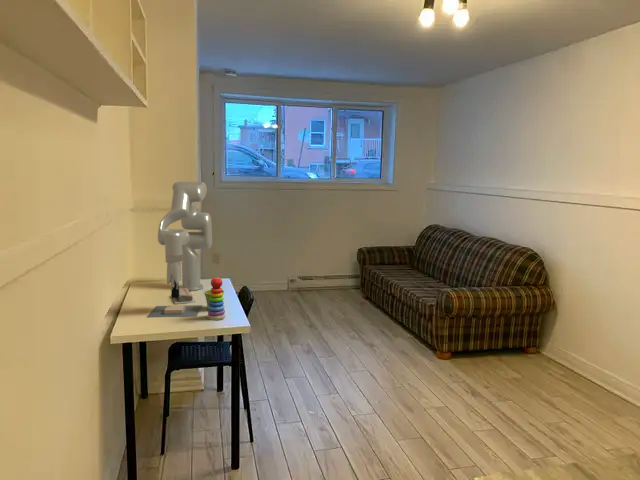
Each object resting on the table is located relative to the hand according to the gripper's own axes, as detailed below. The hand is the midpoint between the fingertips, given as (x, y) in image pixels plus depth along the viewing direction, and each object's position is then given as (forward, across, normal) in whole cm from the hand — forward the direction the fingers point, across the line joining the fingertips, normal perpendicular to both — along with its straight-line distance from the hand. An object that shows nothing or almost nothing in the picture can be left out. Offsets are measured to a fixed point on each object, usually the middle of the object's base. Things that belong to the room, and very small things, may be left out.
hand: (175, 297), depth 223 cm
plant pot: (+7, -2, +18) cm, 19 cm away
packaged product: (+7, -20, 0) cm, 21 cm away
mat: (+7, +1, 0) cm, 7 cm away
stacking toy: (+7, +12, +20) cm, 24 cm away
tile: (+5, -2, 0) cm, 6 cm away
